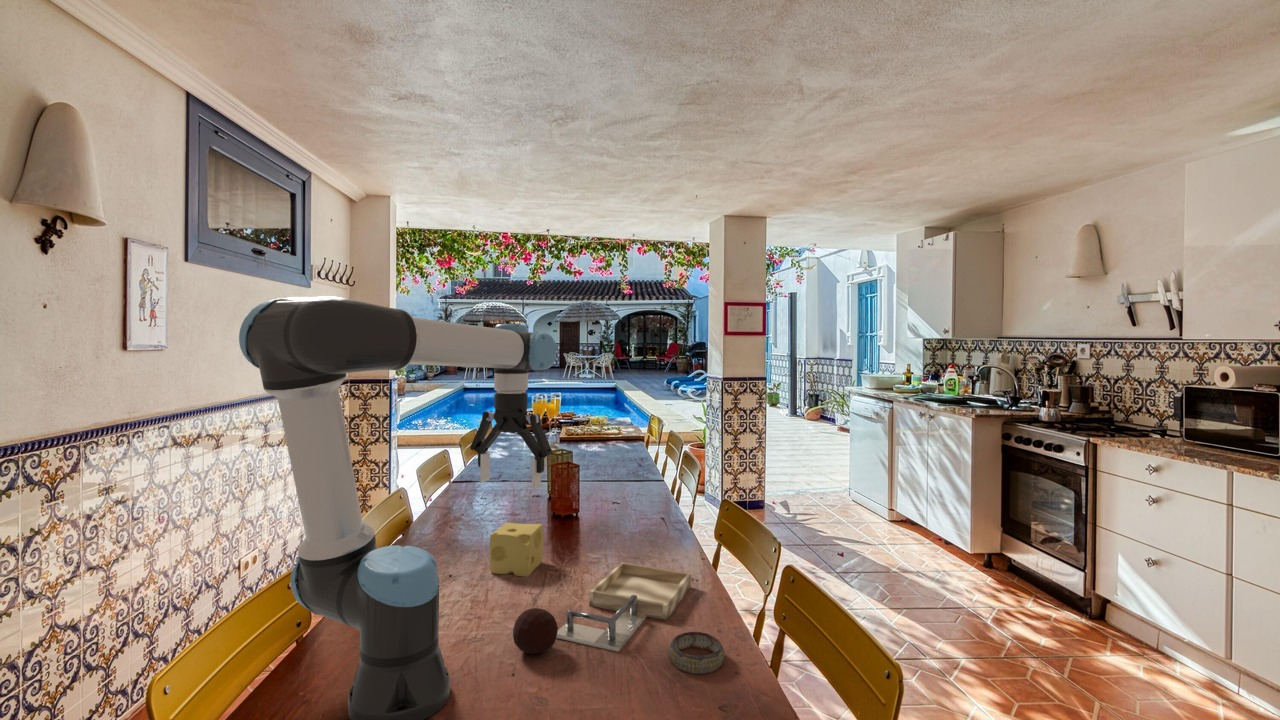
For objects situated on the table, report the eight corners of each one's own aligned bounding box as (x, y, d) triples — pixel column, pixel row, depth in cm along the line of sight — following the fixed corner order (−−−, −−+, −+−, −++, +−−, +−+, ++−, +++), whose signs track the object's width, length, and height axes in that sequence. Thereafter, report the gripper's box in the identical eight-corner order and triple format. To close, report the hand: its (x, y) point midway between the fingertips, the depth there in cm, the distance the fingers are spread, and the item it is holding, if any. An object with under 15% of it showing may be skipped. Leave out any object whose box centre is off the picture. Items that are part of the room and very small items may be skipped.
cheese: (528, 578, 143) (528, 537, 142) (487, 574, 145) (487, 533, 144) (544, 561, 153) (544, 523, 152) (505, 558, 155) (505, 520, 155)
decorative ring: (736, 664, 107) (698, 640, 115) (736, 646, 106) (698, 624, 114) (693, 683, 100) (657, 657, 109) (694, 664, 100) (657, 640, 108)
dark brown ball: (535, 634, 116) (535, 595, 116) (568, 650, 110) (568, 610, 110) (501, 651, 110) (501, 610, 109) (534, 669, 104) (534, 626, 104)
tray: (666, 620, 122) (666, 605, 122) (589, 605, 128) (589, 591, 128) (690, 586, 138) (691, 573, 138) (621, 575, 145) (621, 562, 145)
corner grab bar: (618, 651, 110) (618, 627, 110) (554, 637, 115) (554, 613, 114) (649, 614, 125) (649, 592, 124) (591, 602, 130) (591, 581, 129)
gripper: (567, 392, 135) (566, 485, 135) (474, 388, 143) (474, 475, 144) (551, 395, 128) (550, 493, 128) (455, 390, 136) (454, 482, 137)
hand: (510, 484), depth 136 cm, fingers open, 13 cm apart
